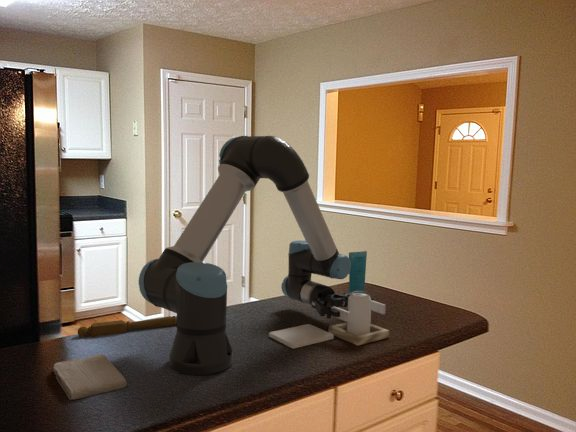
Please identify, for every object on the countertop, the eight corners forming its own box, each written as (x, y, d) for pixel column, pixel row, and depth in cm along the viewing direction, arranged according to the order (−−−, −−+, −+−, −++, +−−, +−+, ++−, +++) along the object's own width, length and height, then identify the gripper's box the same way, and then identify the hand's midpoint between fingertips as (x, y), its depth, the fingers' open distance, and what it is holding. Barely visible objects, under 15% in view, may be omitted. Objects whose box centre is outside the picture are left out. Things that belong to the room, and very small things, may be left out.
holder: (357, 345, 139) (357, 338, 138) (328, 332, 148) (328, 326, 148) (388, 337, 146) (389, 330, 145) (358, 325, 155) (359, 319, 155)
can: (369, 340, 143) (371, 297, 142) (345, 337, 144) (347, 295, 143) (370, 332, 150) (372, 291, 148) (347, 330, 151) (349, 290, 149)
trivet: (292, 348, 135) (292, 344, 135) (269, 336, 144) (269, 332, 144) (333, 338, 143) (333, 334, 143) (308, 327, 152) (308, 323, 152)
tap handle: (187, 315, 153) (78, 328, 139) (187, 325, 153) (78, 339, 139) (184, 312, 155) (77, 325, 142) (184, 322, 156) (77, 336, 142)
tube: (358, 304, 178) (361, 249, 176) (369, 308, 174) (371, 251, 172) (342, 308, 173) (344, 251, 171) (353, 311, 169) (355, 253, 167)
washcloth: (102, 361, 125) (102, 349, 125) (129, 389, 111) (129, 375, 110) (49, 373, 118) (49, 360, 118) (70, 404, 104) (70, 389, 103)
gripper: (347, 301, 168) (397, 319, 151) (285, 314, 154) (332, 334, 137) (348, 279, 168) (398, 293, 151) (286, 289, 153) (333, 306, 136)
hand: (367, 313), depth 144 cm, fingers open, 13 cm apart
